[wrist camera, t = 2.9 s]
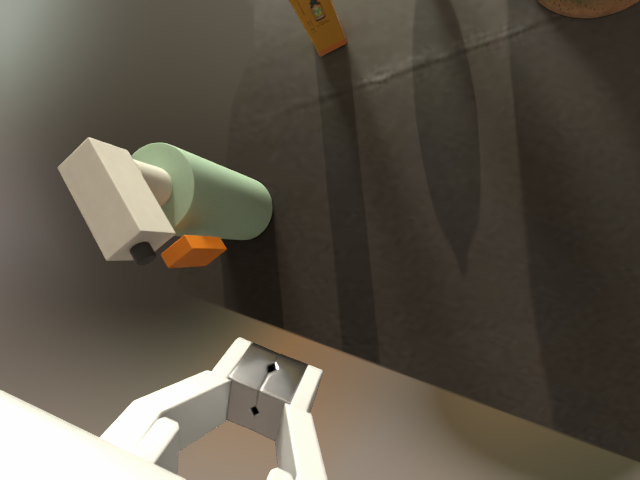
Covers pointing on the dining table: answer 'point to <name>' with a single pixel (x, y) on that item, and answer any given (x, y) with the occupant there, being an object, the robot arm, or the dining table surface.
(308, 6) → the supplement box
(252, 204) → the spray bottle
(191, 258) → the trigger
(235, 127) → the dining table surface
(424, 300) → the dining table surface
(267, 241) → the dining table surface
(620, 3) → the mug
